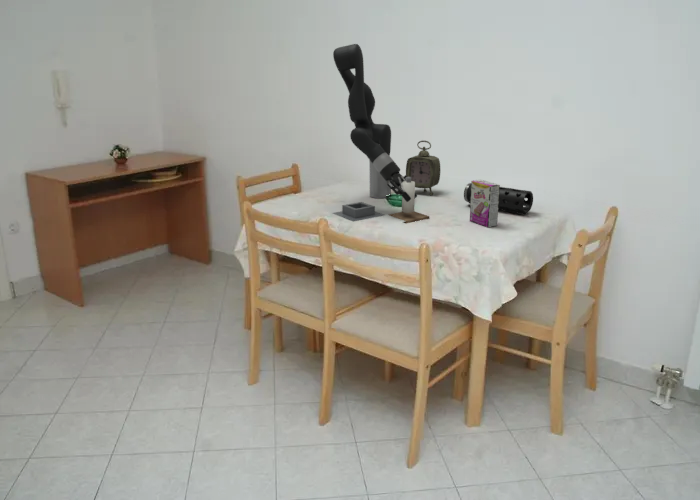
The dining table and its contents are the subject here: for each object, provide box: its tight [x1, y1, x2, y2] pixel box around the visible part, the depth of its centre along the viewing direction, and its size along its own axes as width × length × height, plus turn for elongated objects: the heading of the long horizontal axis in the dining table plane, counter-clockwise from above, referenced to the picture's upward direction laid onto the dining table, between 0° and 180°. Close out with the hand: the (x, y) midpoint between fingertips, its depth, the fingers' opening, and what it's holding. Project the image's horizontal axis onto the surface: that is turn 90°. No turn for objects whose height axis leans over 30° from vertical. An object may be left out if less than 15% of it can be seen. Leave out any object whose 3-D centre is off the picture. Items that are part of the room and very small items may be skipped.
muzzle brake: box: [463, 182, 534, 216], centre depth 248 cm, size 10×28×10 cm, turn 47°
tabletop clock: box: [405, 140, 441, 197], centre depth 277 cm, size 14×9×25 cm, turn 58°
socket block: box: [332, 201, 385, 222], centre depth 243 cm, size 16×16×4 cm
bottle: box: [401, 177, 416, 213], centre depth 237 cm, size 5×5×14 cm
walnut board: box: [388, 210, 430, 224], centre depth 240 cm, size 12×12×1 cm
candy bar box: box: [469, 179, 501, 228], centre depth 228 cm, size 11×5×16 cm, turn 29°
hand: (412, 198), depth 237 cm, fingers closed on bottle, 5 cm apart
